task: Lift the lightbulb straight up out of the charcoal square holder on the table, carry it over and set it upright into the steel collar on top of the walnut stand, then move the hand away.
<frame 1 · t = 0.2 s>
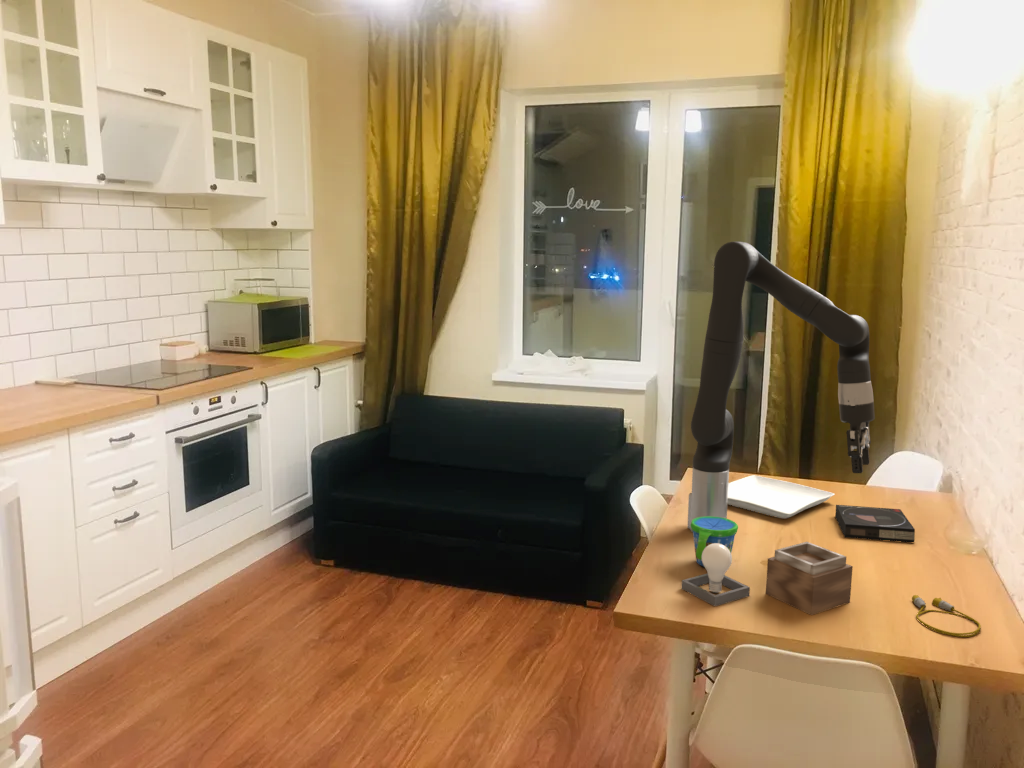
hand: (861, 468, 190), 22 cm above the table, tool pointing down, fingers open, 8 cm apart
lightbulb: (715, 593, 175), resting in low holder
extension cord: (945, 622, 163), on the table
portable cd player: (872, 532, 215), on the table
walnut stand: (807, 597, 172), on the table
square plate: (768, 504, 237), on the table
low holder: (715, 592, 175), on the table
snack cup: (712, 564, 191), on the table
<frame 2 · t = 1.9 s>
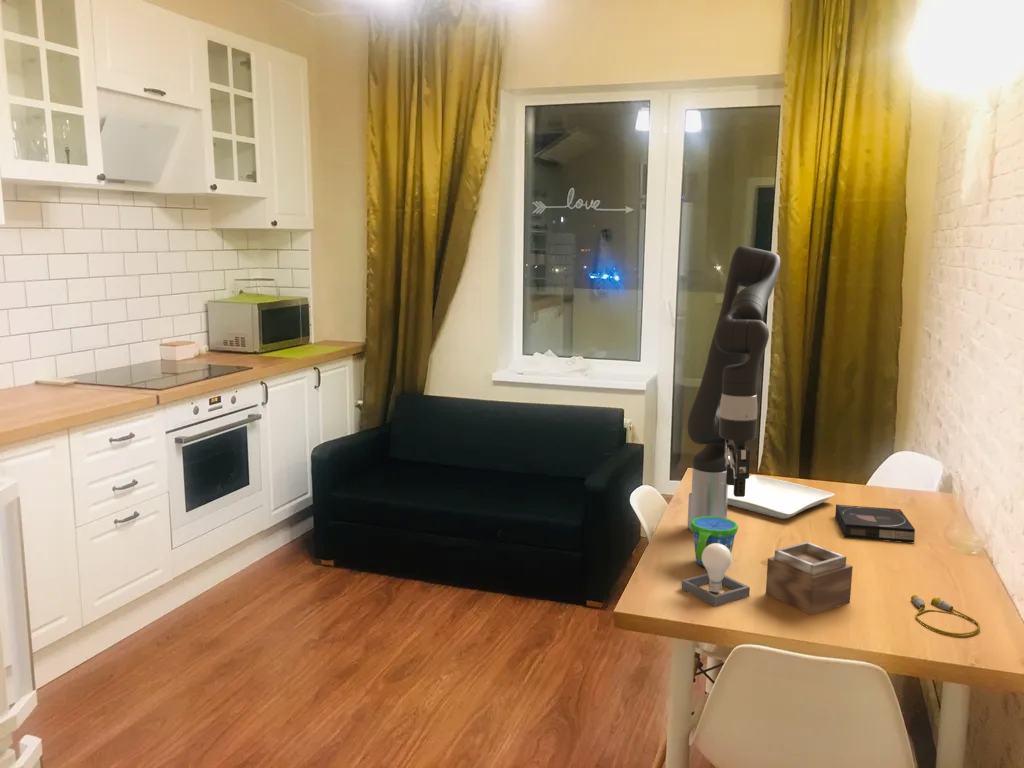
hand: (735, 490, 171), 23 cm above the table, tool pointing down, fingers open, 8 cm apart
nothing on the table moved.
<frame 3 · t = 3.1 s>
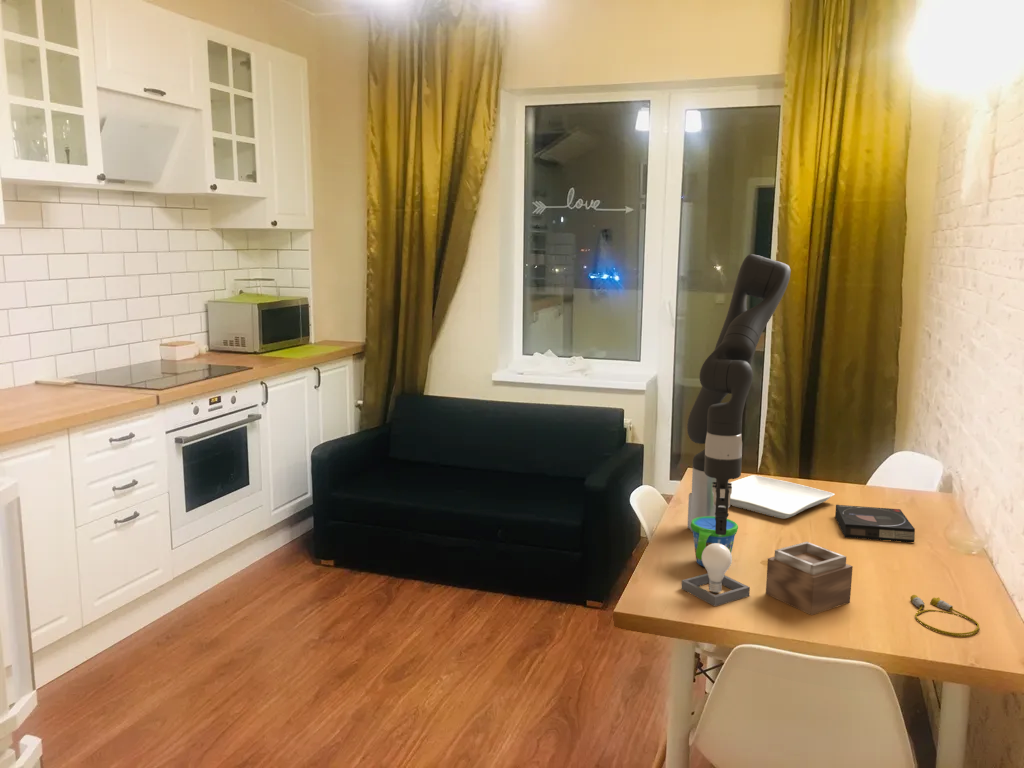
hand: (720, 527, 172), 15 cm above the table, tool pointing down, fingers open, 8 cm apart
nothing on the table moved.
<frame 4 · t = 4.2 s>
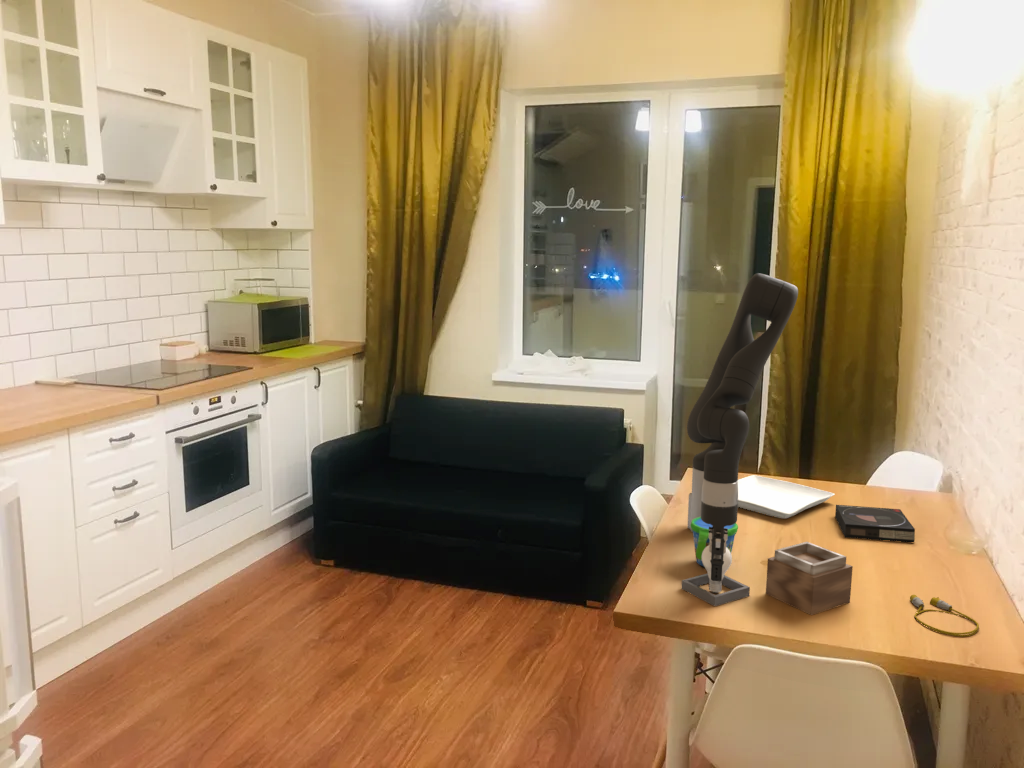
hand: (716, 574, 174), 4 cm above the table, tool pointing down, fingers closed on lightbulb, 6 cm apart
lightbulb: (715, 593, 175), resting in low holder, touching gripper
everything else where it was.
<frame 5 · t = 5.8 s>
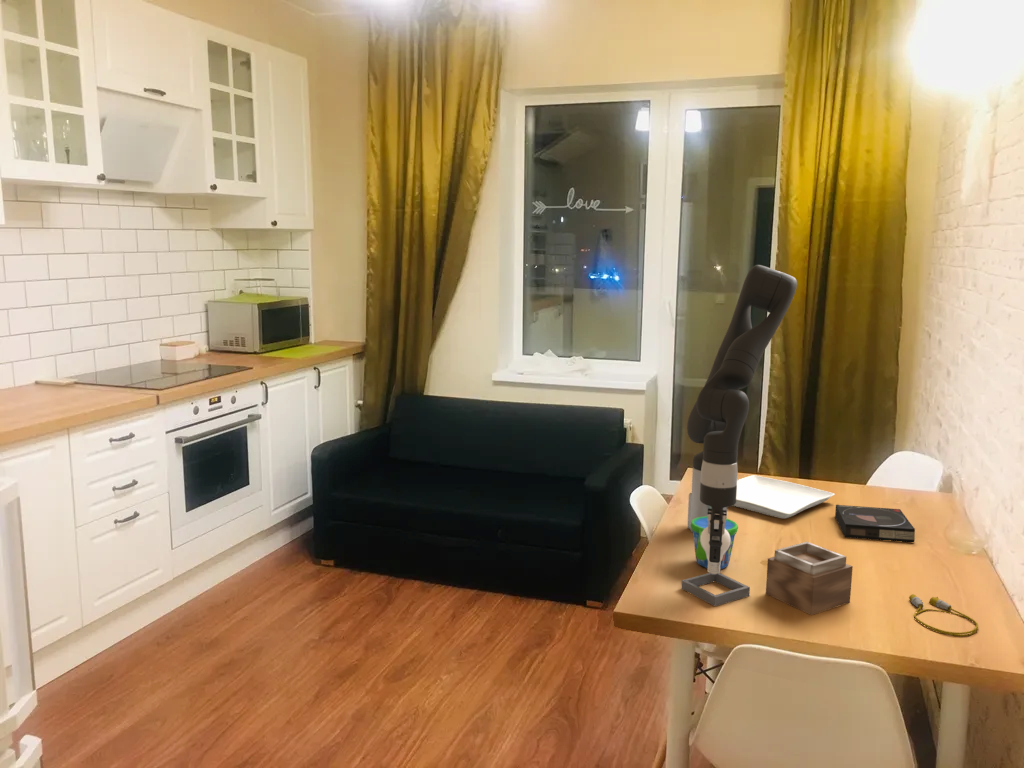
hand: (714, 555, 174), 8 cm above the table, tool pointing down, fingers closed on lightbulb, 6 cm apart
lightbulb: (713, 574, 175), point 4 cm above the table, touching gripper
everything else where it was.
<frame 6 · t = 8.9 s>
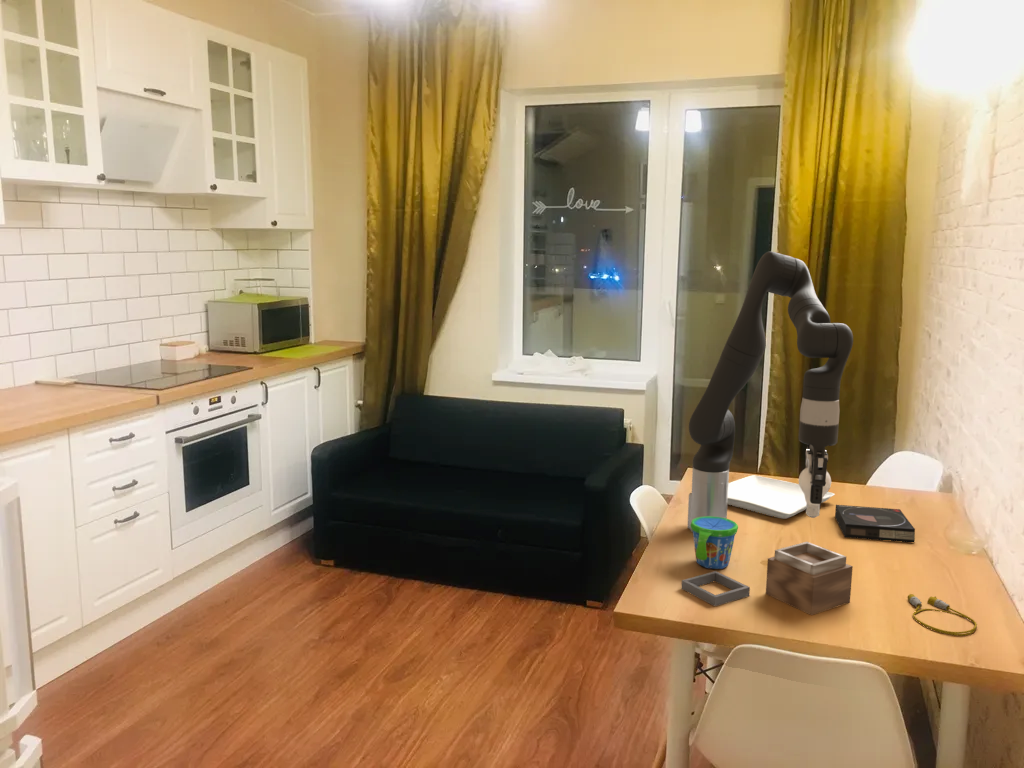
hand: (813, 498, 169), 22 cm above the table, tool pointing down, fingers closed on lightbulb, 6 cm apart
lightbulb: (812, 518, 170), point 18 cm above the table, touching gripper
everything else where it was.
when the fingers open (13 cm above the table, at t = 11.0 s): lightbulb stays where it is, resting on walnut stand.
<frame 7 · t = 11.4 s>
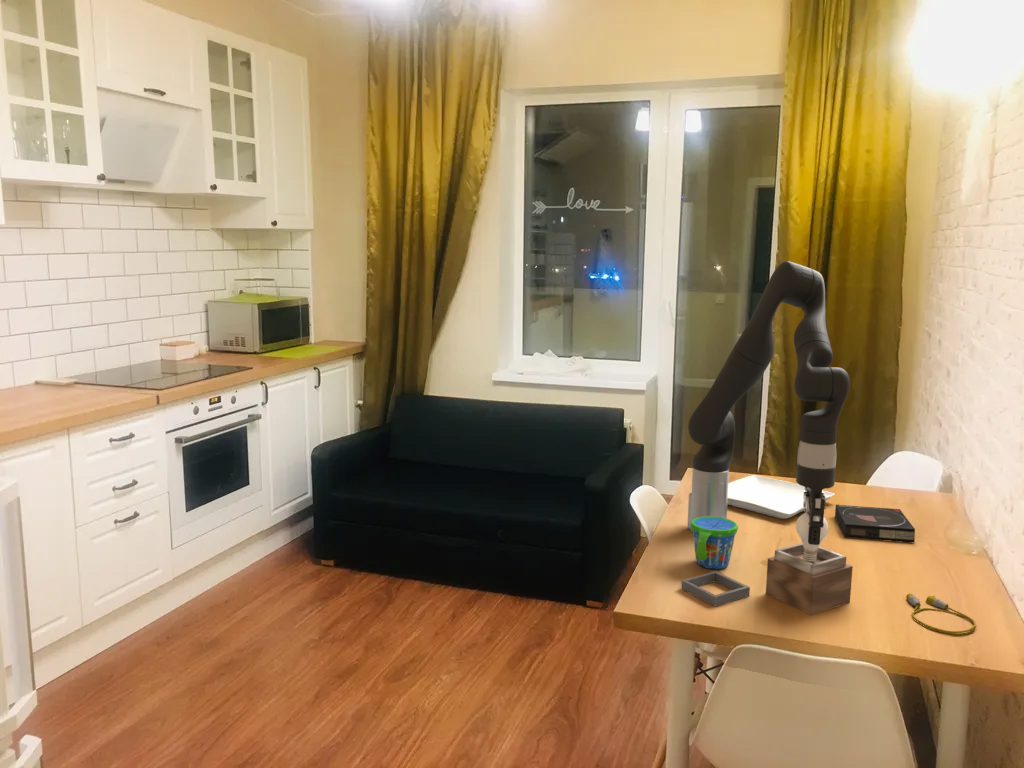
hand: (811, 537, 170), 14 cm above the table, tool pointing down, fingers open, 8 cm apart
lightbulb: (809, 563, 171), point 8 cm above the table, touching walnut stand
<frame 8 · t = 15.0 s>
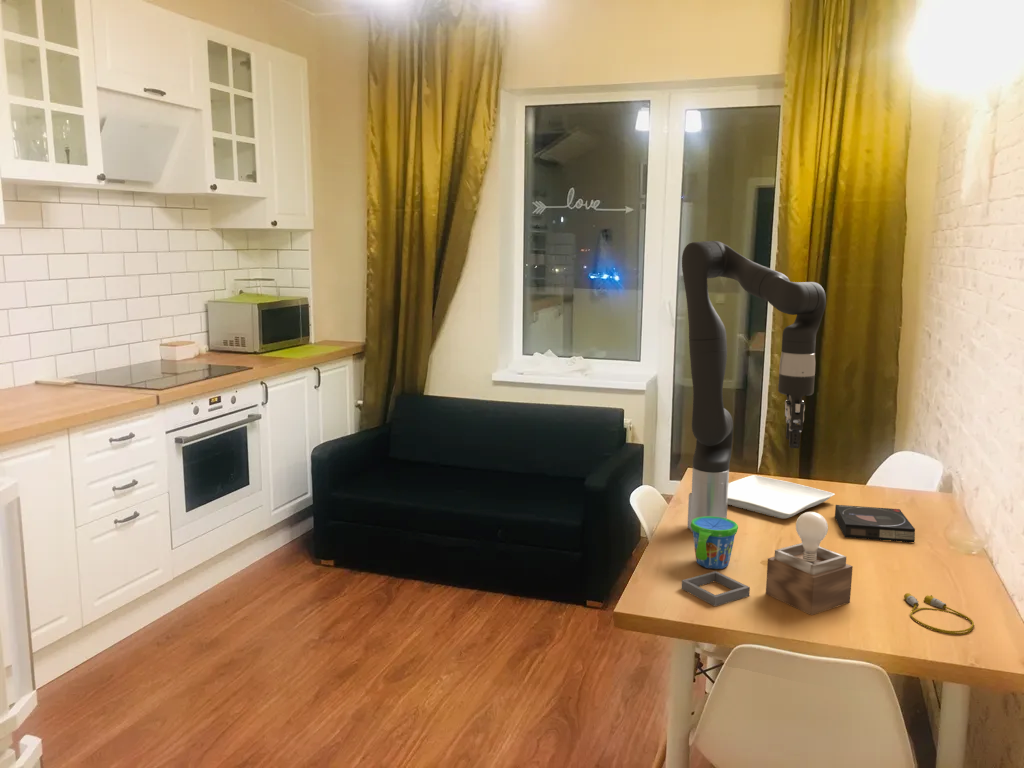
hand: (792, 443, 182), 30 cm above the table, tool pointing down, fingers open, 8 cm apart
at the end: lightbulb 0.1 cm off-centre on the walnut stand, point 7.8 cm above the walnut stand's base; lightbulb tilted 0°; the gripper is holding nothing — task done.
